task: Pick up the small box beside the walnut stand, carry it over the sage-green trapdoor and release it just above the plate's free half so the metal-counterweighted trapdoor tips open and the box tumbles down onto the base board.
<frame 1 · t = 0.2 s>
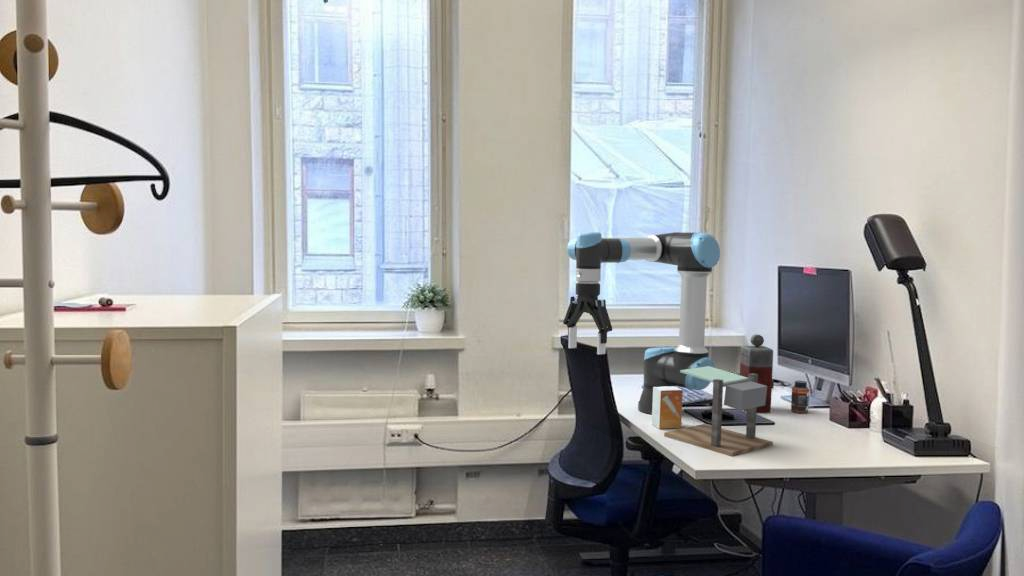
hand: (586, 351, 236), 28 cm above the table, fingers open, 13 cm apart
supplement bottle: (799, 412, 279), on the table
trapdoor: (722, 386, 236), point 17 cm above the table, hinge at 5.0°
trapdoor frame: (717, 440, 239), on the table
small box: (666, 427, 255), on the table
red and grey canister: (753, 409, 282), on the table
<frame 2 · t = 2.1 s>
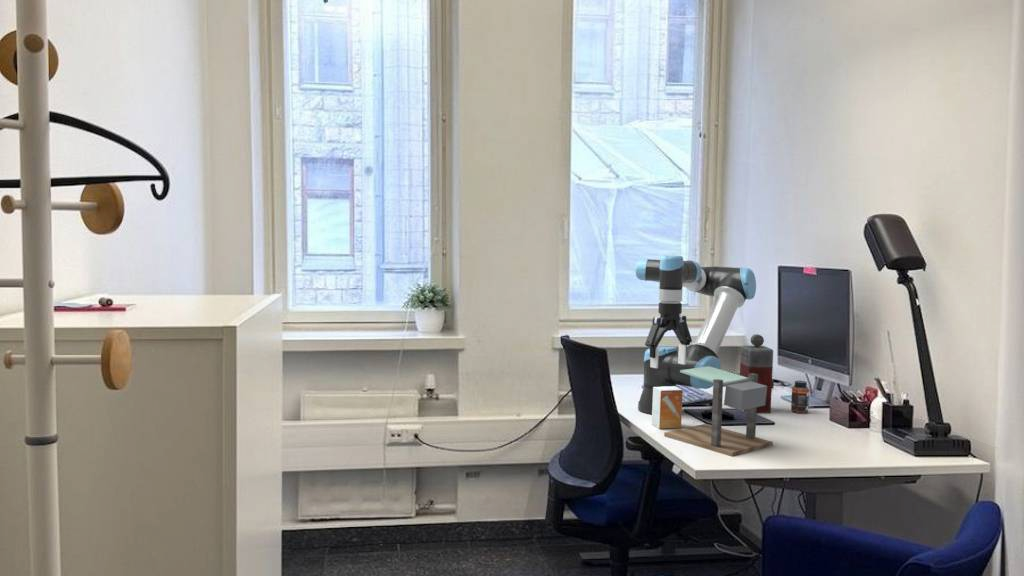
hand: (668, 365, 254), 20 cm above the table, fingers open, 13 cm apart
nothing on the table moved.
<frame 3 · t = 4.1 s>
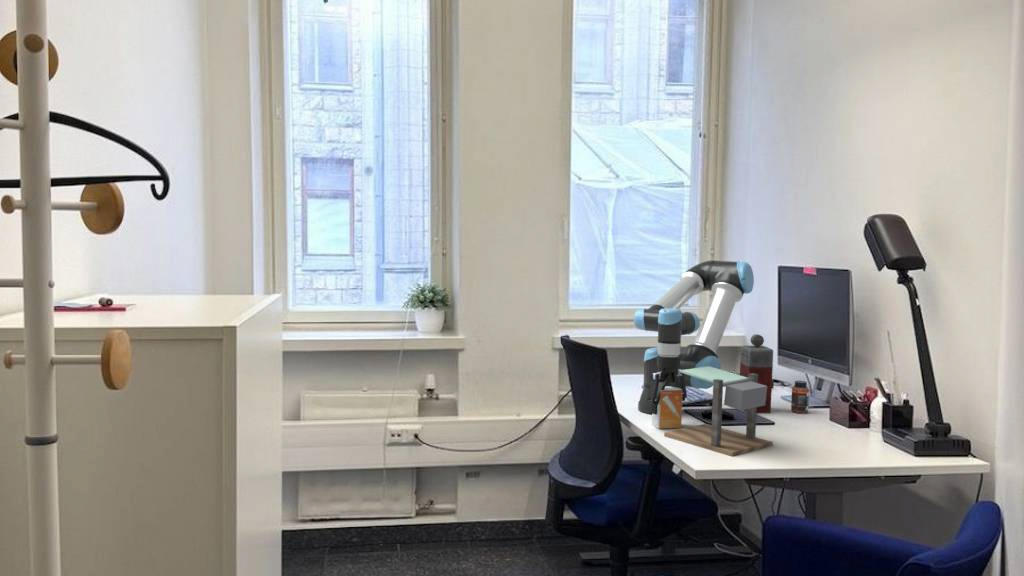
hand: (666, 421, 255), 2 cm above the table, fingers closed on small box, 10 cm apart
small box: (666, 426, 255), on the table, touching gripper
everything else where it was.
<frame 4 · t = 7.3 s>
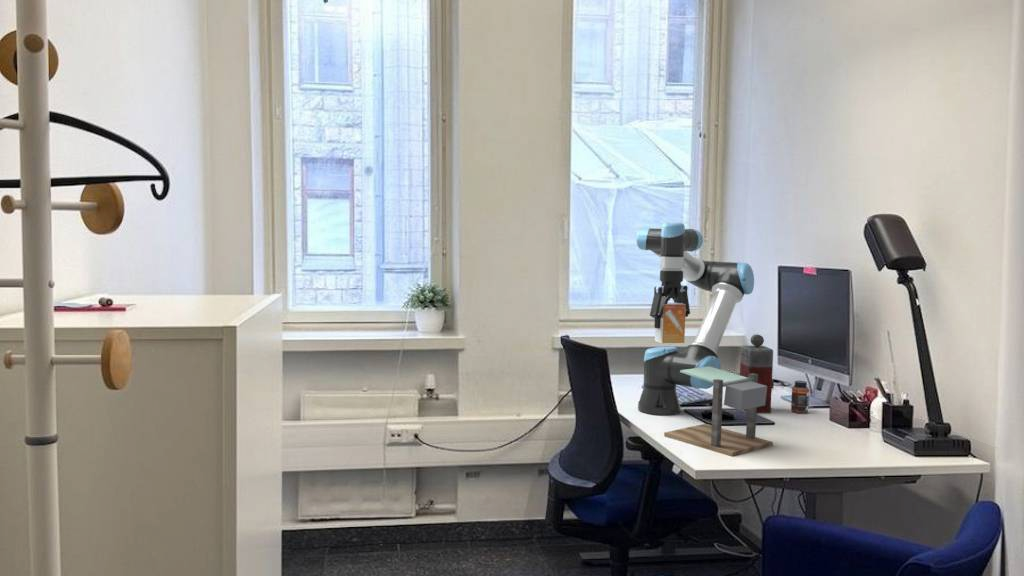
hand: (669, 337, 253), 30 cm above the table, fingers closed on small box, 10 cm apart
small box: (669, 342, 253), point 28 cm above the table, touching gripper
everything else where it was.
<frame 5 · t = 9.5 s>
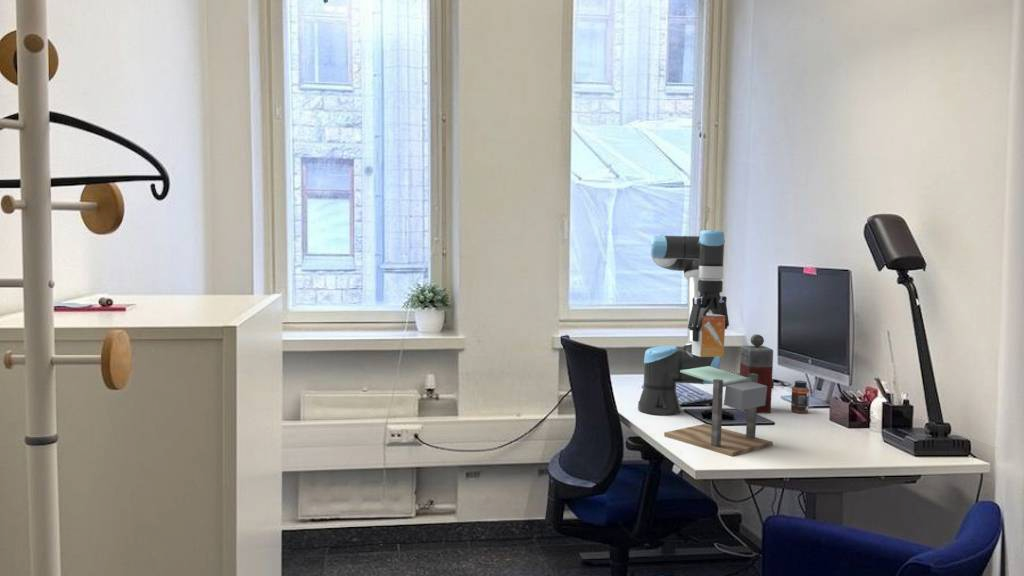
hand: (707, 350, 240), 28 cm above the table, fingers closed on small box, 10 cm apart
small box: (707, 356, 241), point 26 cm above the table, touching gripper
everything else where it was.
when the fingers open (25 cm above the table, at t = 10.6 s): small box drops 18 cm, resting on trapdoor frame.
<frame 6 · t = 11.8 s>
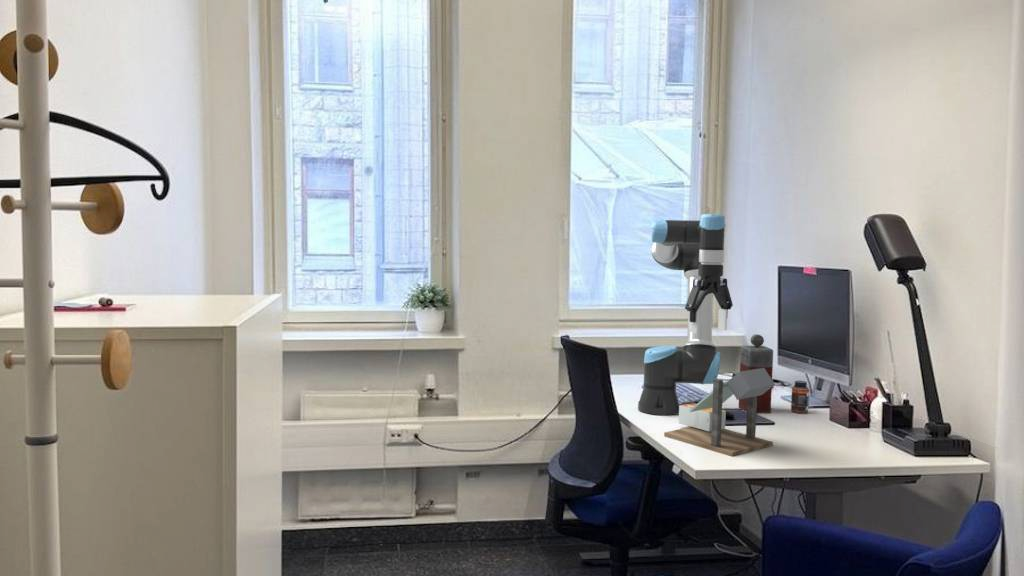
hand: (708, 331, 240), 34 cm above the table, fingers open, 13 cm apart
trapdoor: (731, 397, 234), point 15 cm above the table, hinge at -41.9°
small box: (718, 421, 245), point 5 cm above the table, touching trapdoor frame
everything else where it was.
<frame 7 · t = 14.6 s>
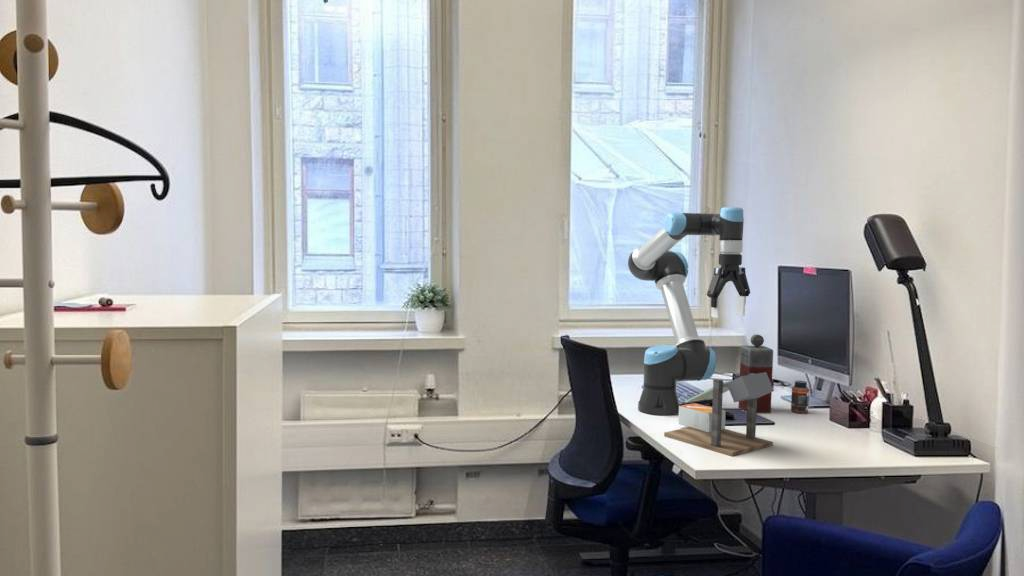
hand: (728, 316, 258), 37 cm above the table, fingers open, 13 cm apart
trapdoor: (729, 395, 235), point 15 cm above the table, hinge at -30.1°
everything else where it was.
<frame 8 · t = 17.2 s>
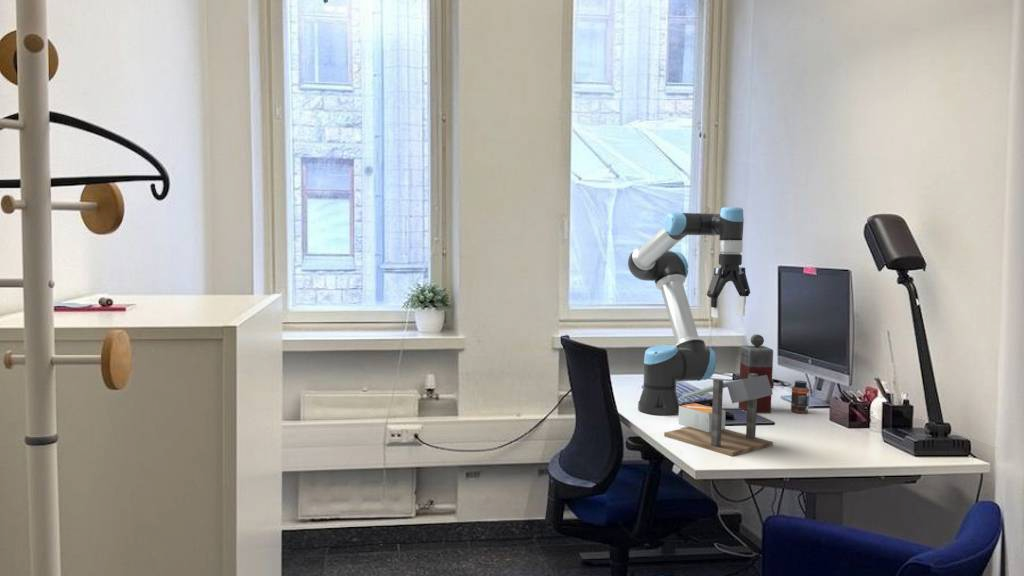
hand: (728, 316, 258), 37 cm above the table, fingers open, 13 cm apart
trapdoor: (727, 394, 235), point 15 cm above the table, hinge at -23.2°
everything else where it was.
at the end: small box point 4.4 cm above the table; the gripper is holding nothing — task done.
